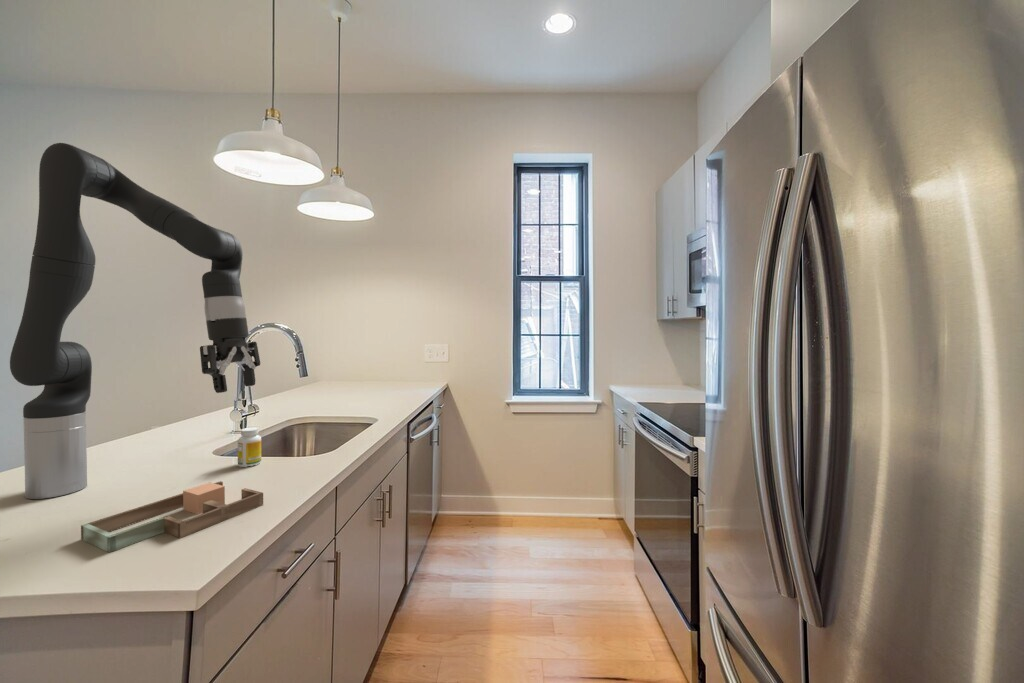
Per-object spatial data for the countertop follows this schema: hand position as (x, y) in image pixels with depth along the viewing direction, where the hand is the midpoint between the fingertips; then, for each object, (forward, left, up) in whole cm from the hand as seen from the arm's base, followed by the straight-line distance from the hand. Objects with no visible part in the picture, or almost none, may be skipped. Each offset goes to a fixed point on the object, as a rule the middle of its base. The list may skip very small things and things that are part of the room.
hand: (236, 389), depth 93 cm
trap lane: (+6, -14, -23) cm, 28 cm away
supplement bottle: (-14, +12, -23) cm, 30 cm away
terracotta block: (+4, -9, -23) cm, 25 cm away
